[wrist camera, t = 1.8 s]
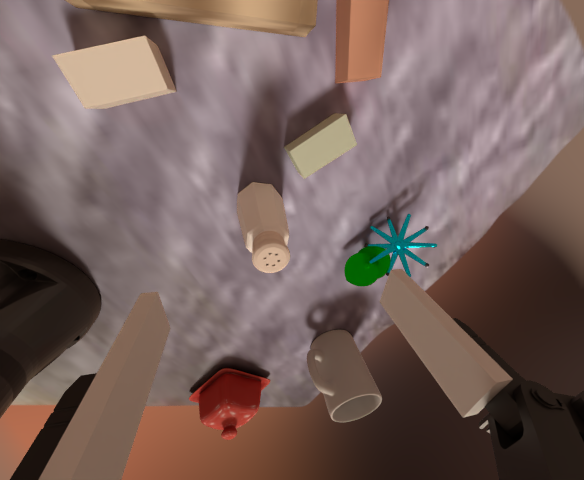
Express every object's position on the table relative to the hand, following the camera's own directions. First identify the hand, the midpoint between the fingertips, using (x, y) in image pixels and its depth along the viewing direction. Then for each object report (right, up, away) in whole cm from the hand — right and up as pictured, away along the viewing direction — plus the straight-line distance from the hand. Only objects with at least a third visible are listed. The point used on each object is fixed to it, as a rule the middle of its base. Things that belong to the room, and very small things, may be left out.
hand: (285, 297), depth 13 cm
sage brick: (+3, +14, +11) cm, 17 cm away
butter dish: (-11, -24, +30) cm, 40 cm away
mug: (+7, -16, +29) cm, 34 cm away
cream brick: (-13, +16, +5) cm, 21 cm away
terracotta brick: (+6, +21, +7) cm, 23 cm away
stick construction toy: (+11, +4, +19) cm, 23 cm away
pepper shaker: (-3, +8, +13) cm, 15 cm away
